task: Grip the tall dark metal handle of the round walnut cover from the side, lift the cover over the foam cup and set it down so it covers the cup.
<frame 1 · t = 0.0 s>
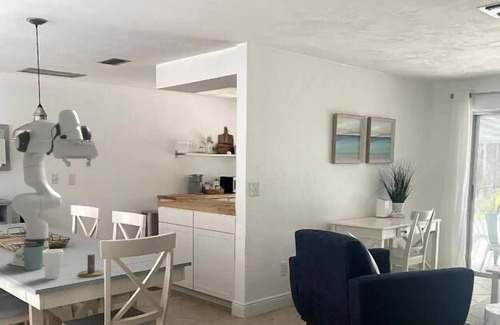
hand: (78, 166, 224), 54 cm above the table, tool tilted 30°, fingers open, 8 cm apart
teal canister: (33, 268, 254), on the table
cover: (91, 274, 242), on the table
foam cup: (52, 278, 235), on the table
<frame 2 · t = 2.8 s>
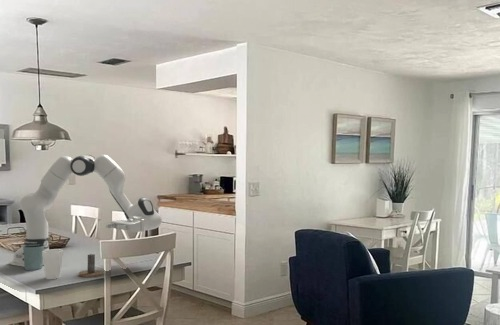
hand: (111, 227, 250), 22 cm above the table, tool horizontal, fingers open, 8 cm apart
nothing on the table moved.
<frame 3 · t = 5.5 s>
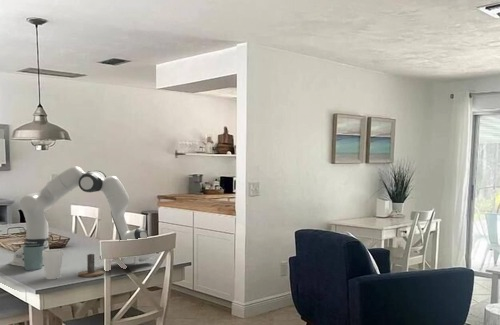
hand: (105, 259, 248), 6 cm above the table, tool horizontal, fingers open, 8 cm apart
nothing on the table moved.
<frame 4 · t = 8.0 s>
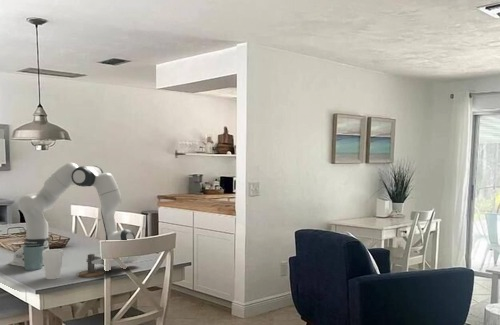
hand: (89, 261, 241), 7 cm above the table, tool horizontal, fingers closed on cover, 3 cm apart
cover: (91, 274, 242), on the table, touching gripper
everything else where it was.
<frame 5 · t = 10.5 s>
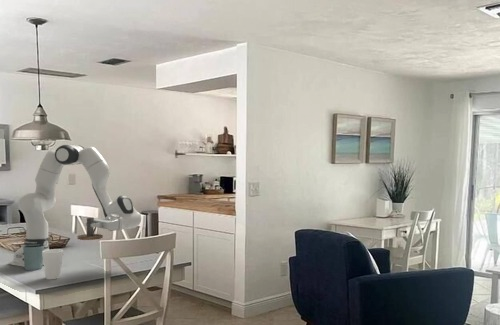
hand: (88, 224, 241), 25 cm above the table, tool horizontal, fingers closed on cover, 3 cm apart
cover: (90, 237, 242), point 18 cm above the table, touching gripper
everything else where it was.
when the fingers open (21 cm above the table, at t = 13.1 s): cover drops 1 cm, resting on foam cup.
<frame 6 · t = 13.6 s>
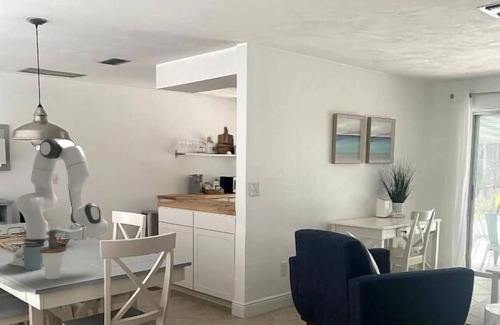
hand: (51, 234, 234), 21 cm above the table, tool horizontal, fingers open, 8 cm apart
cover: (52, 250, 235), point 13 cm above the table, touching foam cup
foam cup: (52, 278, 235), on the table, touching cover
everything else where it was.
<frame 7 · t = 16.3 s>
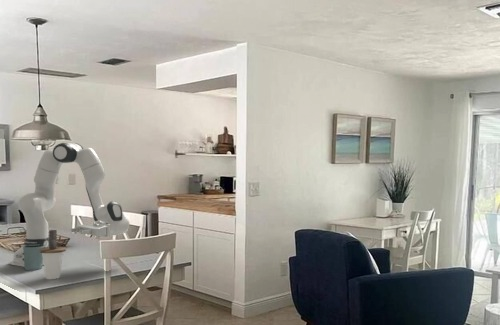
hand: (76, 231, 244), 21 cm above the table, tool horizontal, fingers open, 8 cm apart
nothing on the table moved.
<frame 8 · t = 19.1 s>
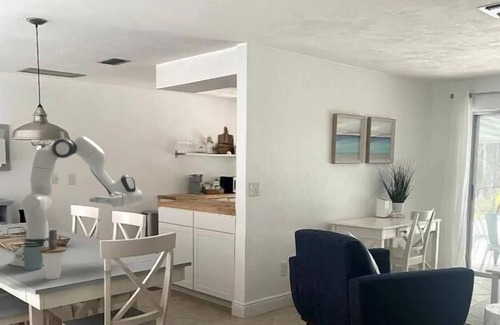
hand: (94, 200, 262), 35 cm above the table, tool horizontal, fingers open, 8 cm apart
nothing on the table moved.
at the end: cover 0.0 cm from the foam cup (horizontally); cover point 13.0 cm above the table; foam cup tilted 0° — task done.
